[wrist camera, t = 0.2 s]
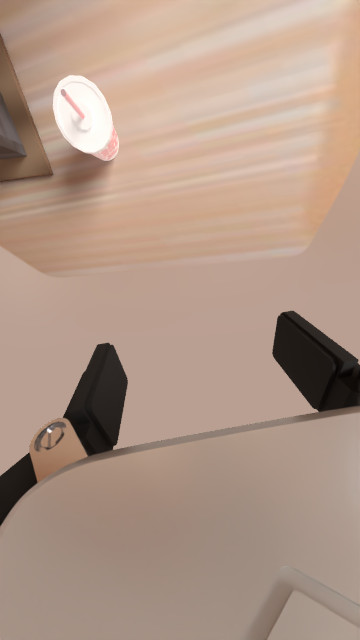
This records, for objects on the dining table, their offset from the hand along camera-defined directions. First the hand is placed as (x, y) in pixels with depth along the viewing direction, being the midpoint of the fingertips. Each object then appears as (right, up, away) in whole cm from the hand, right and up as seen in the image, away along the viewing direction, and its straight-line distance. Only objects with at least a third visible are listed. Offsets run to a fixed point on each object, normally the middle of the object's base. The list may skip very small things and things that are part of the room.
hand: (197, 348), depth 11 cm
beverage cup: (-13, +29, +18) cm, 36 cm away
